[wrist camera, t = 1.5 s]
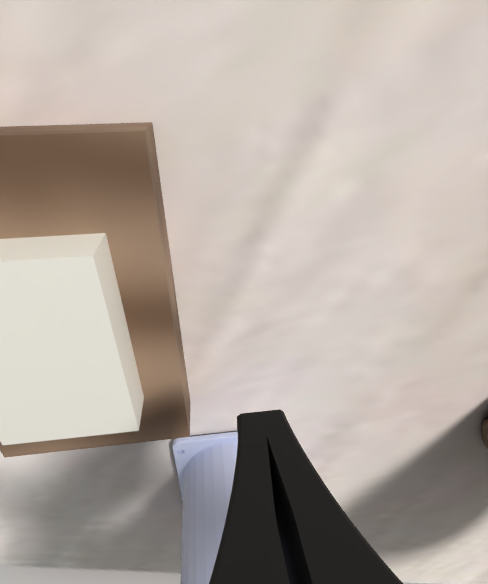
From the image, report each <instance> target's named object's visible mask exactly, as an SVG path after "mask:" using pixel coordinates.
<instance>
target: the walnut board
mask: <svg viewBox="0 0 488 584" xmlns="http://www.w3.org/2000/svg"><path fill="white" fill-rule="evenodd" d="M97 233H106V236H107V240H108V245H109V249H110V253H111V258H112V262H113V266H114V271H115V275H116V279H117V284H118V288H119V292H120V296H121V301H122V305H123V309H124V314H125V318H126V322H127V327H128V331H129V335H130V339H131V344H132V348H133V352H134V357H135V361H136V365H137V370H138V374H139V378H140V382H141V387H142V391H143V395H144V401H143V407H142V414H141V420H140V427H139V431H132V432H123V433H114V434H104V435H95V436H86V437H76V438H67V439H58V440H49V441H39V442H30V443H21V444H12V445H2V443H1V442H0V451H1V452H2V454H3V456H4V457H12V456H21V455H30V454H39V453H48V452H57V451H66V450H75V449H84V448H93V447H102V446H111V445H120V444H129V443H138V442H147V441H156V440H166V439H175V438H184V437H190V398H189V390H188V383H187V376H186V368H185V361H184V353H183V346H182V339H181V331H180V324H179V317H178V309H177V302H176V295H175V287H174V280H173V272H172V265H171V258H170V250H169V243H168V236H167V228H166V221H165V214H164V206H163V199H162V192H161V184H160V177H159V169H158V162H157V155H156V147H155V140H154V133H153V125H152V123H121V124H87V125H52V126H17V127H0V239H9V238H26V237H44V236H62V235H79V234H97Z"/></svg>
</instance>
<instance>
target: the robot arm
mask: <svg viewBox="0 0 488 584" xmlns="http://www.w3.org/2000/svg"><path fill="white" fill-rule="evenodd" d="M237 430H238V431H237V432H228V433H219V434H210V435H201V436H192V437H184V438H177V439H175V440H174V441H173V444H172V449H173V454H174V459H175V464H176V469H177V475H178V480H179V485H180V490H181V495H182V501H183V519H182V556H181V584H403V583H402V582H401V581H400V580H399V578H398V577H397V576H396V575H395V574H394V573H393V572H392V571H391V570H390V568H389V567H388V566H387V565H386V564H385V563H384V561H383V560H382V559H381V558H380V557H379V555H378V554H377V553H376V552H375V551H374V549H373V548H372V547H371V546H370V545H369V543H368V542H367V541H366V540H365V538H364V537H363V536H362V535H361V533H360V532H359V531H358V530H357V528H356V527H355V526H354V524H353V523H352V522H351V520H350V519H349V518H348V516H347V515H346V514H345V512H344V511H343V510H342V508H341V507H340V505H339V504H338V503H337V501H336V500H335V498H334V497H333V496H332V494H331V493H330V491H329V490H328V488H327V487H326V485H325V484H324V482H323V481H322V479H321V478H320V476H319V475H318V473H317V472H316V470H315V468H314V467H313V465H312V464H311V462H310V461H309V459H308V457H307V456H306V454H305V452H304V451H303V449H302V447H301V445H300V444H299V442H298V440H297V438H296V436H295V435H294V433H293V431H292V429H291V427H290V425H289V423H288V421H287V419H286V417H285V414H284V412H283V411H281V410H272V411H263V412H253V413H244V414H240V415H239V416H237Z"/></svg>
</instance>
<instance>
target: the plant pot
mask: <svg viewBox="0 0 488 584" xmlns="http://www.w3.org/2000/svg"><path fill="white" fill-rule="evenodd" d="M482 439H483V441H484V444H485V446H486V447H487V449H488V419H485V420H484V421H483V424H482Z"/></svg>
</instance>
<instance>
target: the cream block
mask: <svg viewBox="0 0 488 584" xmlns="http://www.w3.org/2000/svg"><path fill="white" fill-rule="evenodd" d="M143 401H144V395H143V391H142V387H141V382H140V378H139V374H138V370H137V365H136V361H135V357H134V352H133V348H132V344H131V339H130V335H129V331H128V327H127V322H126V318H125V314H124V309H123V305H122V301H121V296H120V292H119V288H118V284H117V279H116V275H115V271H114V266H113V262H112V258H111V253H110V249H109V245H108V240H107V236H106V233H97V234H79V235H62V236H44V237H26V238H9V239H0V442H1V443H2V445H12V444H21V443H30V442H39V441H49V440H58V439H67V438H76V437H86V436H95V435H104V434H114V433H123V432H132V431H139V427H140V420H141V414H142V407H143Z"/></svg>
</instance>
